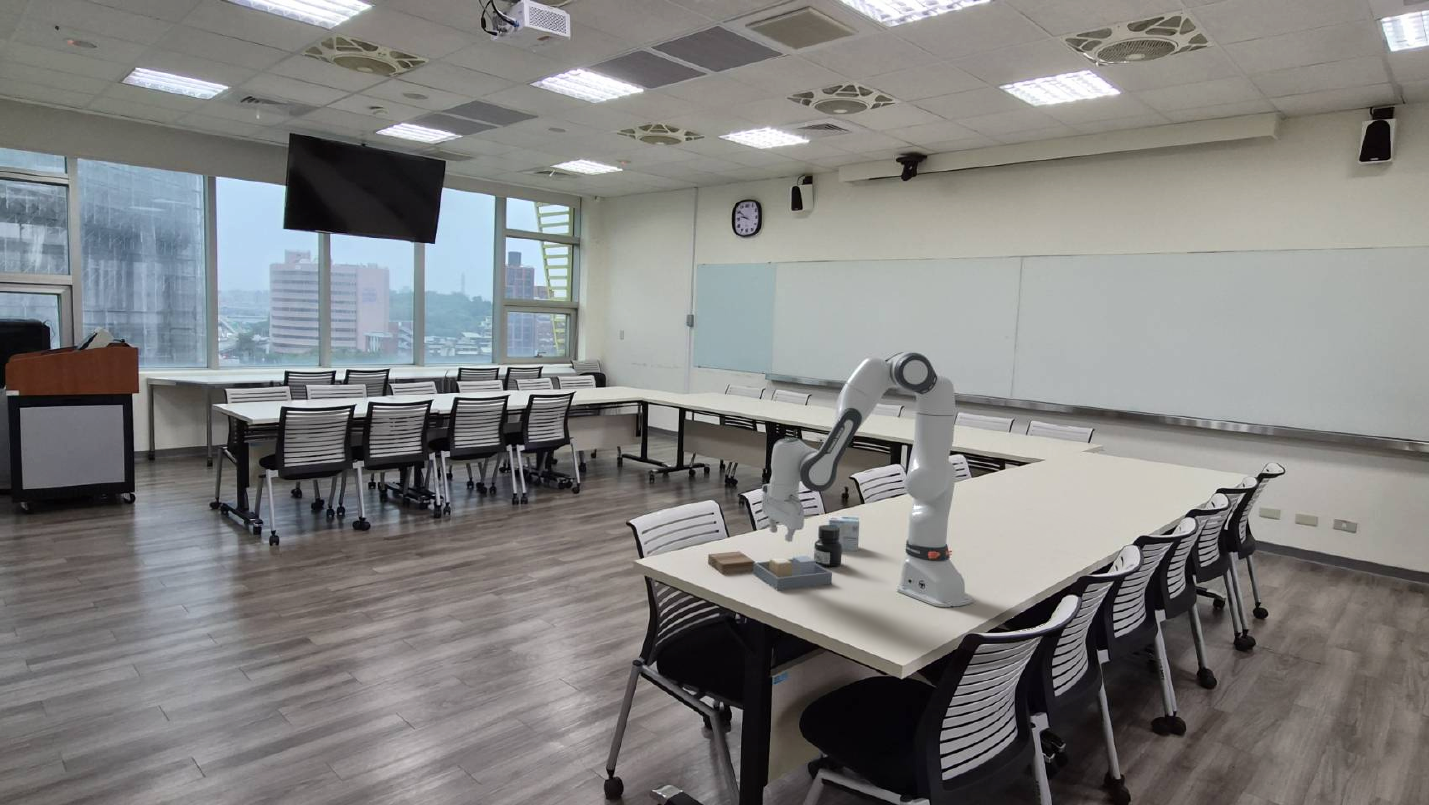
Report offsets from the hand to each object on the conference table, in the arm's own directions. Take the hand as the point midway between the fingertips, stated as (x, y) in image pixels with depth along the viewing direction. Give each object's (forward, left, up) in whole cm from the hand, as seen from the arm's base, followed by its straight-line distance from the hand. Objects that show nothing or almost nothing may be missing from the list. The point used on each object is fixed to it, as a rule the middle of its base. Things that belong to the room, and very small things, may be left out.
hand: (780, 536), depth 235 cm
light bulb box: (+24, -38, -14) cm, 47 cm away
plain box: (0, -8, -14) cm, 16 cm away
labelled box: (0, 0, -14) cm, 14 cm away
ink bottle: (+10, -23, -14) cm, 29 cm away
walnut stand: (+16, +9, -14) cm, 22 cm away
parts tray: (0, -4, -14) cm, 14 cm away
